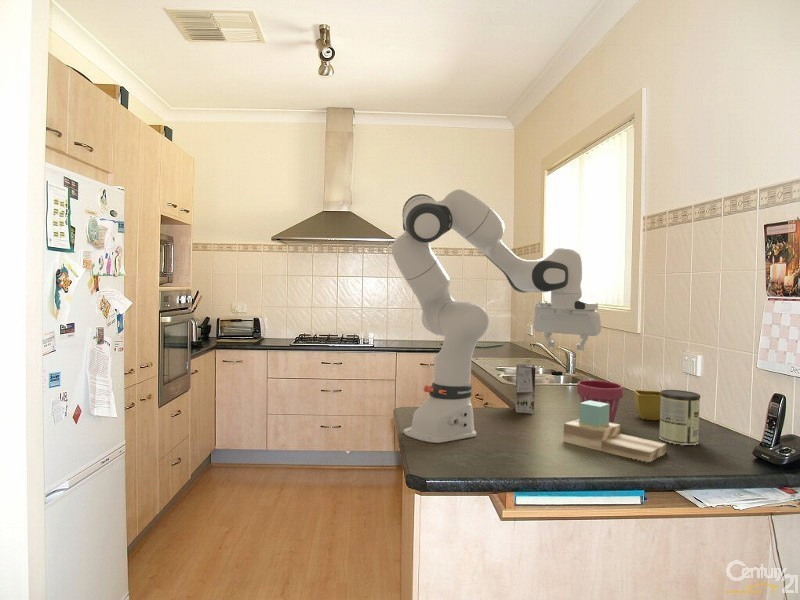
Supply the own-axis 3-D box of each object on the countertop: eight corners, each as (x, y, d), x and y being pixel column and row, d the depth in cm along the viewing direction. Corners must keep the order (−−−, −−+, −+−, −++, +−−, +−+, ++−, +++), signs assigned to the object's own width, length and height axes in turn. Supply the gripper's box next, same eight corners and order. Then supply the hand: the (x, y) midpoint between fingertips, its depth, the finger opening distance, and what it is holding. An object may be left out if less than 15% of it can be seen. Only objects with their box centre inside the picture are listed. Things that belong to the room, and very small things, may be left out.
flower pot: (637, 420, 175) (638, 394, 175) (632, 414, 183) (633, 389, 183) (665, 423, 173) (667, 396, 172) (659, 416, 181) (660, 391, 181)
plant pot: (618, 430, 161) (620, 389, 161) (572, 423, 168) (573, 384, 168) (623, 420, 174) (625, 383, 174) (580, 414, 181) (581, 378, 181)
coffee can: (660, 433, 159) (661, 388, 159) (698, 439, 154) (700, 392, 153) (657, 441, 150) (659, 393, 150) (698, 448, 145) (700, 398, 144)
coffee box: (534, 414, 180) (535, 367, 180) (515, 412, 182) (516, 366, 181) (533, 408, 189) (534, 364, 189) (515, 407, 191) (516, 363, 190)
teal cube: (599, 428, 143) (600, 406, 143) (579, 424, 148) (579, 403, 147) (608, 424, 147) (609, 403, 147) (588, 420, 152) (589, 400, 152)
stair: (649, 463, 131) (650, 442, 131) (563, 441, 148) (564, 423, 148) (666, 453, 139) (666, 434, 139) (583, 434, 156) (583, 417, 156)
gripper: (529, 302, 161) (529, 346, 161) (594, 304, 146) (593, 353, 147) (540, 301, 165) (539, 344, 166) (603, 303, 151) (602, 350, 151)
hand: (565, 348), depth 156 cm, fingers open, 8 cm apart
